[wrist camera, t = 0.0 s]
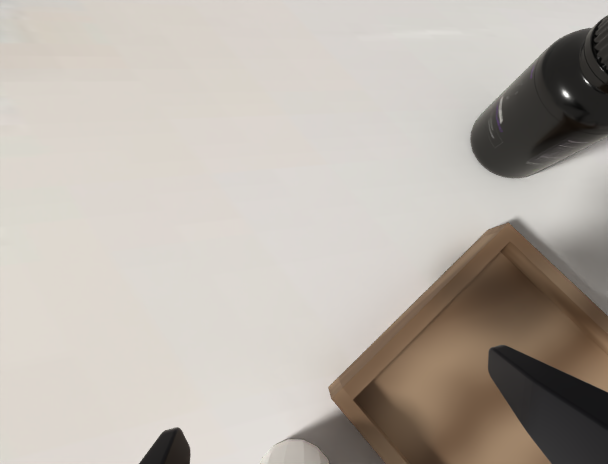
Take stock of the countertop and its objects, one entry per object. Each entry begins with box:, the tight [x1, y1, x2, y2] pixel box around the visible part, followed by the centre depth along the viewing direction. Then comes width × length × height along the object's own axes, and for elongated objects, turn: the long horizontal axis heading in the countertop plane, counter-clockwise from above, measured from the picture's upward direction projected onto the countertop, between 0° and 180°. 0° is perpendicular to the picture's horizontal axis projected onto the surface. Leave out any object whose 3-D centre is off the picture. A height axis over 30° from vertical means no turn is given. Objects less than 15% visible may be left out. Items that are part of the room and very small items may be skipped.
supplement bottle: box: [471, 16, 608, 178], centre depth 20 cm, size 7×7×12 cm
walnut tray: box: [328, 223, 608, 464], centre depth 21 cm, size 18×18×2 cm
